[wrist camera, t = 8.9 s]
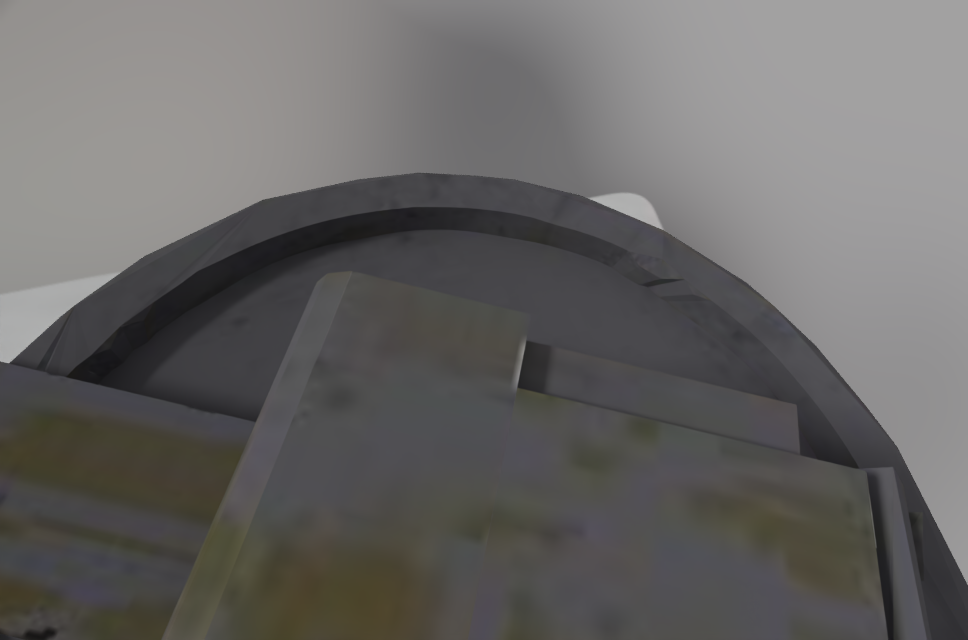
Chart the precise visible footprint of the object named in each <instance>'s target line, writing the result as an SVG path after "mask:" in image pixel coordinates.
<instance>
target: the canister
mask: <svg viewBox="0 0 968 640" xmlns="http://www.w3.org/2000/svg"><path fill="white" fill-rule="evenodd" d="M0 640H968V585H967V583H966V581H965V579H964V577H963V575H962V573H961V571H960V569H959V567H958V565H957V563H956V562H955V559H954V558H953V556H952V554H951V552H950V550H949V548H948V546H947V544H946V542H945V540H944V538H943V536H942V534H941V532H940V530H939V528H938V526H937V524H936V522H935V520H934V518H933V517H932V514H931V512H930V510H929V508H928V506H927V505H926V503H925V501H924V499H923V497H922V495H921V493H920V491H919V489H918V487H917V485H916V483H915V481H914V479H913V477H912V475H911V473H910V471H909V469H908V467H907V465H906V464H905V461H904V459H903V457H902V456H901V454H900V452H899V450H898V448H897V446H896V445H895V444H894V442H893V441H892V440H891V438H890V437H889V436H888V435H887V433H886V432H885V431H884V429H883V428H882V427H881V425H880V424H879V423H878V421H877V420H876V419H875V417H874V416H873V415H872V413H871V412H870V411H869V410H868V408H867V407H866V406H865V405H864V403H863V402H862V401H861V400H860V398H859V397H858V396H857V395H856V394H855V392H854V391H853V390H852V389H851V388H850V386H849V385H848V384H847V383H846V382H845V381H844V379H843V378H842V377H841V376H840V374H839V373H838V372H837V371H836V370H835V368H834V367H833V366H832V365H831V364H830V363H829V361H828V360H827V359H826V358H825V356H824V355H823V354H822V353H821V352H820V350H819V349H818V348H817V347H816V346H815V345H814V344H813V343H812V342H811V341H810V340H809V339H808V338H807V337H806V336H805V335H804V334H803V333H801V331H799V330H798V329H797V328H796V327H795V326H794V325H793V324H792V323H791V322H790V321H789V320H788V319H787V318H786V317H785V316H784V315H783V314H781V312H779V311H778V310H777V309H776V308H775V307H774V306H773V305H772V304H771V303H770V302H768V301H767V300H766V299H765V298H764V297H763V296H761V295H760V294H759V293H758V292H756V291H755V290H754V289H753V288H752V287H751V286H749V285H748V284H747V283H746V282H744V281H743V280H741V279H740V278H738V277H736V276H735V275H733V274H731V273H730V272H729V271H727V270H725V269H724V268H722V267H721V266H719V265H717V264H716V263H714V262H713V261H711V260H710V259H708V258H706V257H705V256H703V255H702V254H700V253H699V252H697V251H695V250H694V249H692V248H691V247H689V246H687V245H686V244H684V243H683V242H681V241H679V240H678V239H676V238H675V237H673V236H672V235H670V234H668V233H667V232H665V231H664V230H661V229H659V228H656V227H654V226H652V225H649V224H647V223H645V222H642V221H640V220H637V219H635V218H633V217H630V216H628V215H626V214H623V213H621V212H618V211H616V210H614V209H611V208H609V207H607V206H604V205H602V204H599V203H597V202H595V201H592V200H590V199H588V198H585V197H583V196H580V195H576V194H572V193H567V192H563V191H559V190H555V189H551V188H546V187H543V186H538V185H534V184H530V183H526V182H522V181H518V180H513V179H503V178H493V177H483V176H470V175H450V174H449V175H448V174H432V173H431V174H430V173H414V174H404V175H395V176H387V177H377V178H368V179H359V180H354V181H349V182H344V183H340V184H335V185H331V186H326V187H321V188H316V189H312V190H307V191H303V192H298V193H293V194H289V195H284V196H279V197H274V198H270V199H265V200H262V201H260V202H258V203H255V204H253V205H252V206H249V207H247V208H245V209H243V210H241V211H239V212H237V213H234V214H232V215H230V216H228V217H226V218H224V219H222V220H220V221H218V222H216V223H214V224H211V225H209V226H207V227H205V228H203V229H201V230H199V231H197V232H195V233H193V234H190V235H188V236H186V237H184V238H182V239H180V240H178V241H176V242H174V243H171V244H169V245H167V246H165V247H163V248H161V249H159V250H157V251H155V252H153V253H150V254H148V255H146V256H144V257H143V258H141V259H140V260H139V261H137V262H136V263H134V264H133V265H132V266H130V267H129V268H127V269H126V270H124V271H123V272H122V273H120V274H119V275H117V276H116V277H114V278H113V279H112V280H110V281H109V282H107V283H106V284H105V285H103V286H102V287H100V288H99V289H97V290H96V291H95V292H93V293H92V294H90V295H89V296H88V297H86V298H85V299H83V300H82V301H80V302H79V303H78V304H76V305H75V306H74V307H72V308H71V309H70V310H69V311H67V312H66V313H65V314H63V315H62V316H61V317H60V318H59V319H58V320H57V321H55V322H54V323H53V324H52V325H51V326H50V327H49V328H48V329H47V330H45V331H44V332H43V333H42V334H41V335H40V336H39V337H38V338H37V339H36V340H34V341H33V342H32V343H31V344H30V345H29V346H28V347H27V348H26V349H25V350H23V351H22V352H21V353H20V354H19V355H18V356H17V357H16V358H15V359H14V360H12V361H11V362H10V363H9V364H8V363H4V362H0Z"/></svg>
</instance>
